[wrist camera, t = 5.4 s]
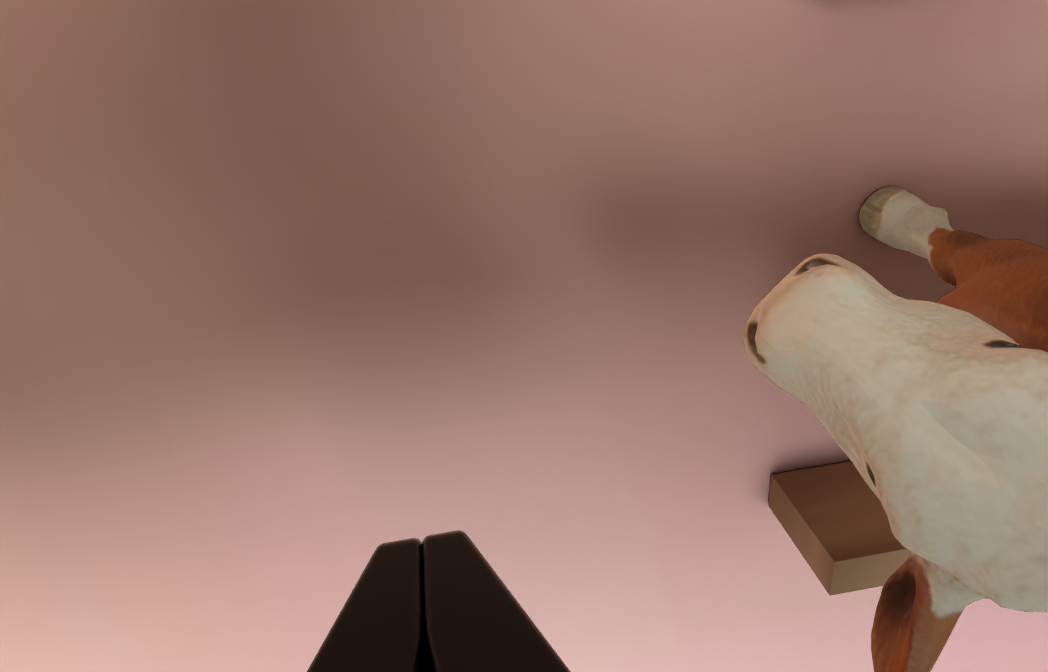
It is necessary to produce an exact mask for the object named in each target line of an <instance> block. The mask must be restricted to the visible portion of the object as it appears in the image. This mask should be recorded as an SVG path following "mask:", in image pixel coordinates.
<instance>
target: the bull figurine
mask: <svg viewBox="0 0 1048 672" xmlns="http://www.w3.org/2000/svg"><path fill="white" fill-rule="evenodd" d="M859 220H860V223H861V227H862V229H863V230H864V231H865V232H866V233H867V234H868V235H870V236H871V237H873V238H875V239H876V240H879V241H881V242H884V243H885V244H887V245H889V246H890V247H893V248H895V249H901V250H906V251H908V252H911V253H913V254H916V255H918V256H921V257H923V258H926V259H928V260H929V263H930V265H931V266H932V268H933V270H934V272H935V273H936V274H937V275H938V276H939V277H941V278H942V279H943V280H945V281H946V282H948V283H950V284H952V285H954V286H956V288H955V290H953V291H951V292H950V293H948V294H946V295H945V296H943V297H941V298H940V299H939V300H938V301H937V302H936V303H934V302H930V301H921V300H908V299H905V298H902V297H899V296H897V295H894V294H893V293H891V292H890V291H888V290H887V289H886V288H884V287H883V286H882V285H881V284H880V283H879V282H878V281H877V280H876V279H875V278H874V277H872V276H871V275H870V274H869V273H867V272H866V271H864V270H863V269H862V268H860V267H859V266H857V265H855V264H853V263H851V262H850V261H848V260H846V259H844V258H842V257H840V256H838V255H833V254H828V253H826V254H816V255H813V256H811V257H809V258H806V259H804V260H803V261H802V262H801V263H800V264H799V265H798V266H797V267H795V268H794V269H793V270H792V271H791V272H790V273H789V274H788V275H787V276H785V277H784V278H783V279H782V280H781V281H780V282H779V283H778V284H777V286H776V287H775V288H774V289H773V290H772V291H771V292H770V293H769V294H768V295H767V296H766V297H765V298H764V299H763V300H762V301H761V302H760V303H759V304H758V305H757V306H756V307H755V309H754V310H753V312H752V314H751V315H750V317H749V319H748V321H747V324H746V330H745V335H744V345H745V349H746V353H747V355H748V357H749V358H750V360H751V361H752V363H753V364H754V366H755V367H756V368H757V369H758V370H759V371H761V372H762V373H763V374H764V375H765V376H766V377H768V378H769V379H770V380H771V381H772V382H773V383H774V384H776V385H777V386H778V387H779V388H780V389H782V390H784V391H785V392H787V393H789V394H791V395H792V396H794V397H796V398H797V399H799V400H800V401H801V402H802V403H804V404H805V405H806V406H807V407H809V408H810V410H811V411H812V412H813V413H814V415H815V416H816V417H817V418H818V420H819V421H820V422H821V424H822V425H823V426H824V427H825V429H826V430H827V431H828V433H829V434H830V435H831V436H832V438H833V439H834V440H835V442H836V443H837V444H838V445H839V447H840V448H841V449H842V451H843V452H844V453H845V454H846V455H847V456H848V457H849V459H850V460H851V461H852V462H853V464H854V465H855V467H856V468H857V470H858V472H859V473H860V475H861V476H862V478H863V479H864V480H865V482H866V483H867V484H868V486H869V487H870V488H871V490H872V491H873V492H874V493H875V495H876V496H877V497H878V498H879V499H880V501H881V504H882V506H883V508H884V510H885V512H886V514H887V516H888V520H889V523H890V527H891V530H892V533H893V535H894V537H895V538H896V539H897V540H898V541H899V542H900V543H901V544H902V546H903V547H905V548H906V549H908V550H910V551H911V553H910V555H909V557H908V559H907V560H906V561H905V562H904V563H903V564H902V565H901V566H900V567H899V568H898V569H897V570H896V571H895V572H894V573H893V574H892V575H891V576H890V577H889V578H888V579H887V581H886V583H885V585H884V586H883V589H882V592H881V596H880V599H879V602H878V605H877V609H876V613H875V618H874V623H873V628H872V633H871V651H872V659H873V666H874V671H875V672H930V671H931V670H932V668H933V666H934V664H935V662H936V660H937V659H938V657H939V655H940V653H941V651H942V649H943V647H944V645H945V644H946V642H947V640H948V638H949V636H950V634H951V632H952V630H953V628H954V626H955V624H956V622H957V620H958V618H959V616H960V615H961V613H962V611H963V610H964V608H965V606H967V605H968V604H970V603H971V602H974V601H977V600H981V599H991V600H992V601H994V602H995V603H996V604H998V605H999V606H1000V607H1004V608H1009V609H1014V610H1019V611H1024V612H1048V250H1047V249H1045V248H1042V247H1040V246H1037V245H1035V244H1032V243H1030V242H1026V241H1022V240H1017V239H999V240H992V239H988V238H986V237H983V236H980V235H978V234H975V233H972V232H966V231H954V230H953V229H952V227H951V225H950V223H949V220H948V214H947V211H946V210H945V209H944V208H939V207H932V206H929V205H928V204H927V203H925V202H924V201H923V200H922V199H920V198H918V197H917V196H915V195H913V194H912V193H910V192H908V191H906V190H904V189H902V188H899V187H896V186H889V187H885V188H881V189H879V190H878V191H876V192H874V193H873V194H872V195H871V196H870V197H869V198H868V199H867V201H866V202H865V203H864V205H863V206H862V207H861V209H860V215H859Z"/></svg>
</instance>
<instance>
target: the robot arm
mask: <svg viewBox="0 0 1048 672" xmlns="http://www.w3.org/2000/svg"><path fill="white" fill-rule="evenodd" d="M307 672H570V670H569V669H568V668H567V666H566V665H565V664H564V662H563V661H562V660H561V658H560V657H559V656H558V655H557V653H556V652H555V651H554V649H553V648H552V647H551V645H550V644H549V643H548V641H547V640H546V639H545V637H544V636H543V635H542V633H541V632H540V631H539V629H538V628H537V627H536V625H535V624H534V623H533V621H532V620H531V619H530V618H529V616H528V615H527V614H526V612H525V611H524V610H523V608H522V607H521V606H520V604H519V603H518V602H517V600H516V599H515V598H514V596H513V595H512V594H511V592H510V591H509V590H508V588H507V587H506V586H505V584H504V583H503V582H502V580H501V579H500V578H499V577H498V575H497V574H496V573H495V571H494V570H493V569H492V567H491V566H490V565H489V563H488V562H487V561H486V559H485V558H484V557H483V555H482V554H481V553H480V551H479V550H478V549H477V547H476V546H475V545H474V543H473V542H472V541H471V540H470V538H469V537H468V536H467V535H466V534H465V533H464V532H462V531H452V532H446V533H440V534H434V535H429V536H426V537H425V538H424V540H423V542H422V543H421V541H420V540H419V539H417V538H411V539H405V540H399V541H393V542H388V543H383V544H381V545H380V546H378V547H377V549H376V550H375V552H374V554H373V555H372V557H371V559H370V561H369V562H368V564H367V566H366V568H365V570H364V571H363V573H362V575H361V577H360V578H359V580H358V582H357V584H356V586H355V587H354V589H353V591H352V593H351V594H350V596H349V598H348V600H347V601H346V603H345V605H344V607H343V609H342V610H341V612H340V614H339V616H338V617H337V619H336V621H335V623H334V625H333V626H332V628H331V630H330V632H329V633H328V635H327V637H326V639H325V641H324V642H323V644H322V646H321V648H320V649H319V651H318V653H317V655H316V656H315V658H314V660H313V662H312V664H311V665H310V667H309V669H308V671H307Z"/></svg>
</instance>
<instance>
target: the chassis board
mask: <svg viewBox="0 0 1048 672" xmlns="http://www.w3.org/2000/svg"><path fill="white" fill-rule="evenodd" d="M769 507H770V508H771V510H772V511H773V513H774V514H775V516H776V517H777V519H778V520H779V522H780V523H781V524H782V526H783V527H784V529H785V530H786V532H787V533H788V535H789V536H790V538H791V539H792V541H793V542H794V544H795V545H796V547H797V548H798V549H799V551H800V552H801V554H802V555H803V557H804V558H805V560H806V561H807V563H808V564H809V566H810V567H811V569H812V570H813V571H814V573H815V574H816V576H817V577H818V579H819V580H820V582H821V583H822V585H823V586H824V588H825V589H826V591H827V592H828V594H829V595H835V594H840V593H846V592H851V591H857V590H862V589H867V588H873V587H878V586H883V585H885V583H886V581H887V579H888V578H889V577H890V576H891V575H892V574H893V573H894V572H895V571H896V570H897V569H898V568H899V567H900V566H901V565H902V564H903V563H904V562H905V561H906V560H907V559H908V557H909V555H910V553H911V551H910V550H908V549H906V548H905V547H903V546H902V544H901V543H900V542H899V541H898V540H897V539H896V538H895V537H894V535H893V533H892V530H891V527H890V523H889V520H888V516H887V514H886V512H885V510H884V508H883V506H882V504H881V501H880V499H879V498H878V497H877V496H876V495H875V493H874V492H873V491H872V490H871V488H870V487H869V486H868V484H867V483H866V482H865V480H864V479H863V478H862V476H861V475H860V473H859V472H858V470H857V468H856V467H855V465H854V464H853V462H852V461H849V462H843V463H837V464H831V465H825V466H819V467H813V468H807V469H801V470H795V471H789V472H783V473H777V474H771V483H770V494H769Z"/></svg>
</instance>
